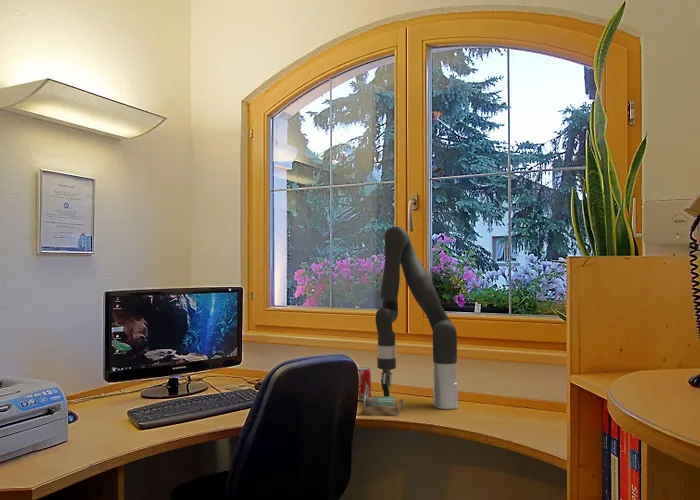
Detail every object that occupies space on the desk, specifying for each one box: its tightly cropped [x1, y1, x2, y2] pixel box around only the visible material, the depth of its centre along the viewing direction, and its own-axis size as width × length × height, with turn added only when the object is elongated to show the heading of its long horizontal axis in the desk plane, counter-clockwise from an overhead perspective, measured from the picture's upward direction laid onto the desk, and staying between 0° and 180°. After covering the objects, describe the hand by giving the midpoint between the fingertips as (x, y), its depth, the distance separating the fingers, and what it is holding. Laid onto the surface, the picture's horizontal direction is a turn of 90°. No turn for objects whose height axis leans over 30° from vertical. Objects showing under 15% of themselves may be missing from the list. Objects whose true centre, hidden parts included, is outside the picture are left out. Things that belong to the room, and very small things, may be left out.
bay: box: [360, 395, 404, 417], centre depth 209 cm, size 14×17×7 cm
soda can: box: [357, 366, 372, 402], centre depth 227 cm, size 7×7×13 cm
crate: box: [373, 395, 396, 407], centre depth 214 cm, size 8×8×4 cm
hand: (386, 399), depth 219 cm, fingers closed
